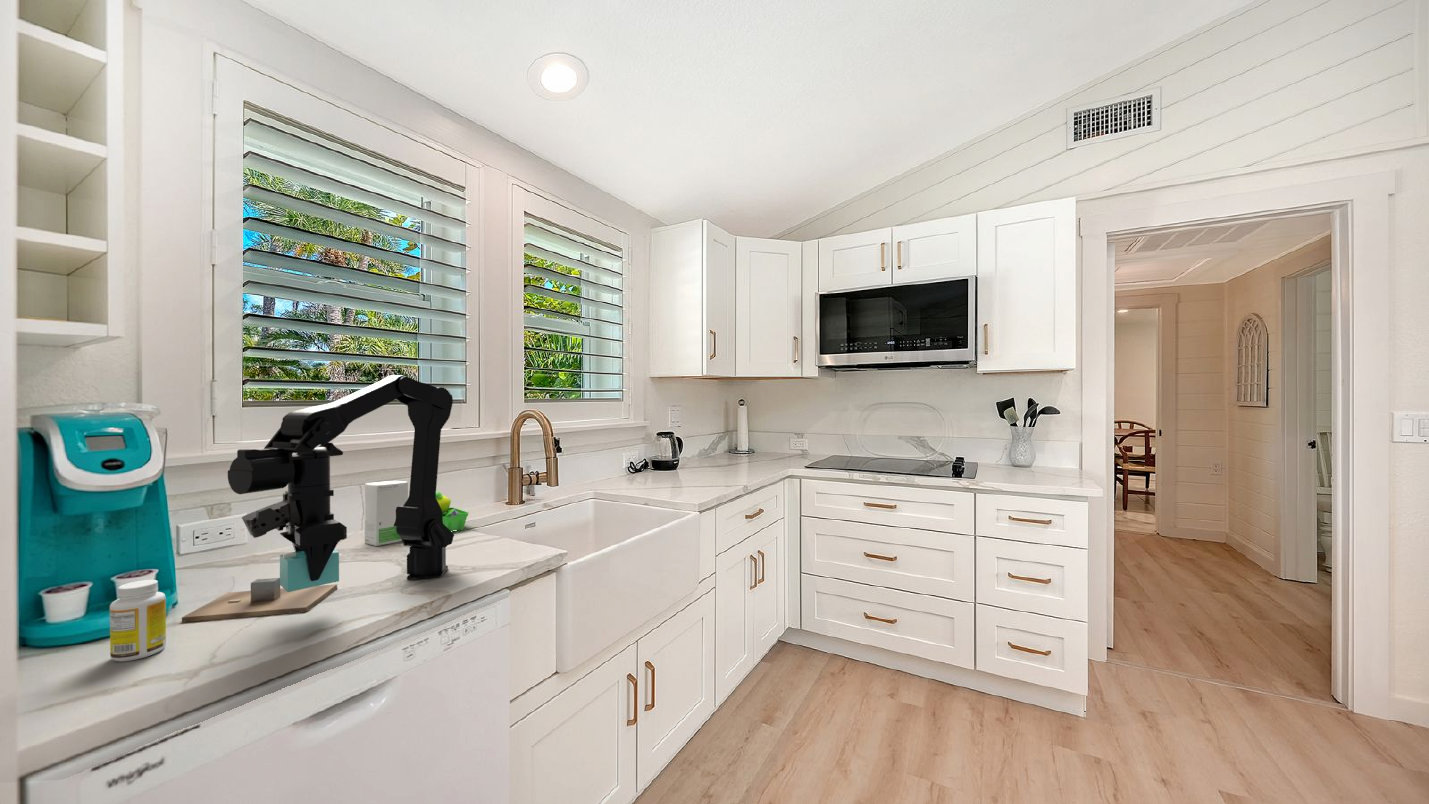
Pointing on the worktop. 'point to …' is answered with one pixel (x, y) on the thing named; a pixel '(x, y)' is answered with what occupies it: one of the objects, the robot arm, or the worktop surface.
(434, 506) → the robot arm
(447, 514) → the fruit basket
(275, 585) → the grey rectangular block
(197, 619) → the base plate
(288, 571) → the teal hollow block
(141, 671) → the worktop surface
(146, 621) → the supplement bottle
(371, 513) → the skincare box
